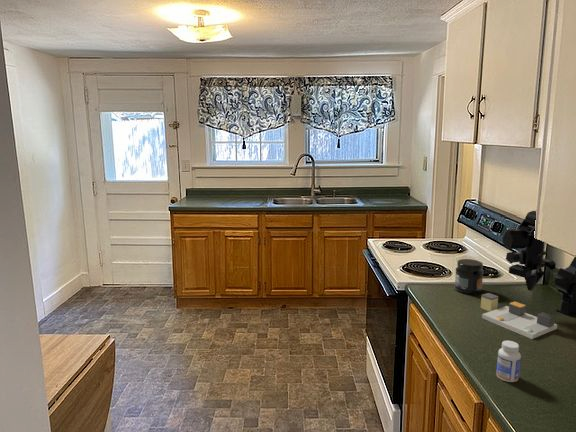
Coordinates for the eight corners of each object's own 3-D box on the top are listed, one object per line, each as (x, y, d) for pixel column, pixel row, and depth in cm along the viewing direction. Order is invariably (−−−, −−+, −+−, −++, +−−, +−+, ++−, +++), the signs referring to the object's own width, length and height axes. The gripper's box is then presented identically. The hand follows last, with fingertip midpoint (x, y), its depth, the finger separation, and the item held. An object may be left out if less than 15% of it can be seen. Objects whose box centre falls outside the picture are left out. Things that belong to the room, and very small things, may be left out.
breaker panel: (506, 309, 160) (506, 305, 160) (556, 328, 145) (557, 323, 144) (481, 318, 153) (482, 313, 153) (532, 339, 138) (532, 333, 137)
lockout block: (487, 305, 164) (488, 292, 163) (497, 309, 160) (498, 296, 159) (480, 307, 162) (481, 294, 161) (490, 311, 158) (491, 298, 157)
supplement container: (486, 290, 179) (488, 262, 176) (474, 297, 172) (477, 268, 169) (461, 283, 186) (463, 256, 184) (449, 290, 179) (451, 262, 177)
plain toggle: (541, 320, 147) (542, 312, 146) (554, 325, 143) (555, 316, 143) (536, 322, 145) (537, 314, 145) (548, 327, 142) (549, 318, 141)
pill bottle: (511, 371, 120) (515, 338, 118) (522, 382, 114) (526, 348, 113) (492, 371, 120) (495, 339, 118) (502, 383, 114) (505, 349, 112)
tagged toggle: (513, 310, 155) (514, 301, 155) (524, 314, 152) (525, 305, 151) (508, 311, 154) (509, 303, 153) (519, 316, 150) (520, 307, 150)
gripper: (527, 239, 163) (523, 279, 166) (496, 246, 154) (492, 288, 157) (558, 246, 153) (553, 288, 157) (527, 254, 144) (522, 298, 147)
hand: (530, 290), depth 155 cm, fingers closed
